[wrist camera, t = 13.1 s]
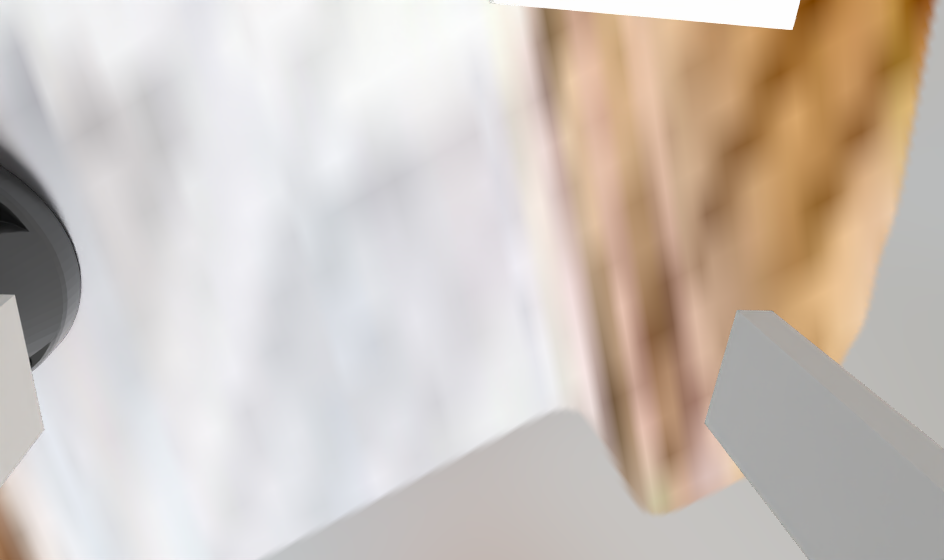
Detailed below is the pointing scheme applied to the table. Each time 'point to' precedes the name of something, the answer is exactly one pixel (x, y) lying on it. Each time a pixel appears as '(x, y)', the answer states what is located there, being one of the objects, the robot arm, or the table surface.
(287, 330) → the table surface
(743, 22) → the cover board
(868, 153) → the table surface
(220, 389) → the table surface
